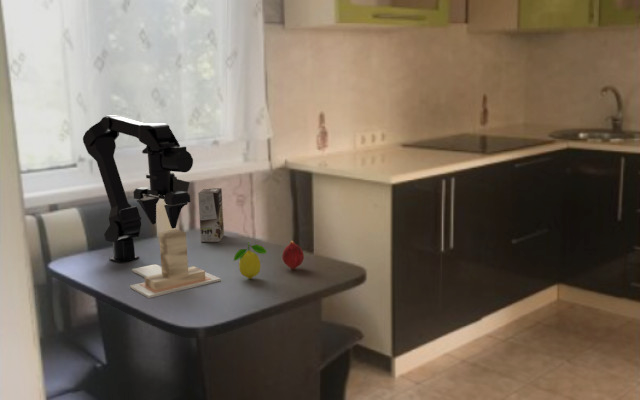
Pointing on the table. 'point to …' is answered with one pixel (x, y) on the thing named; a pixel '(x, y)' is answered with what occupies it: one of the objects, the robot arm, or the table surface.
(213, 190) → the coffee box
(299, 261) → the onion
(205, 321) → the table surface
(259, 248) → the lemon
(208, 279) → the tee mat
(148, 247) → the table surface
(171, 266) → the birch tee block
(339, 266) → the table surface
